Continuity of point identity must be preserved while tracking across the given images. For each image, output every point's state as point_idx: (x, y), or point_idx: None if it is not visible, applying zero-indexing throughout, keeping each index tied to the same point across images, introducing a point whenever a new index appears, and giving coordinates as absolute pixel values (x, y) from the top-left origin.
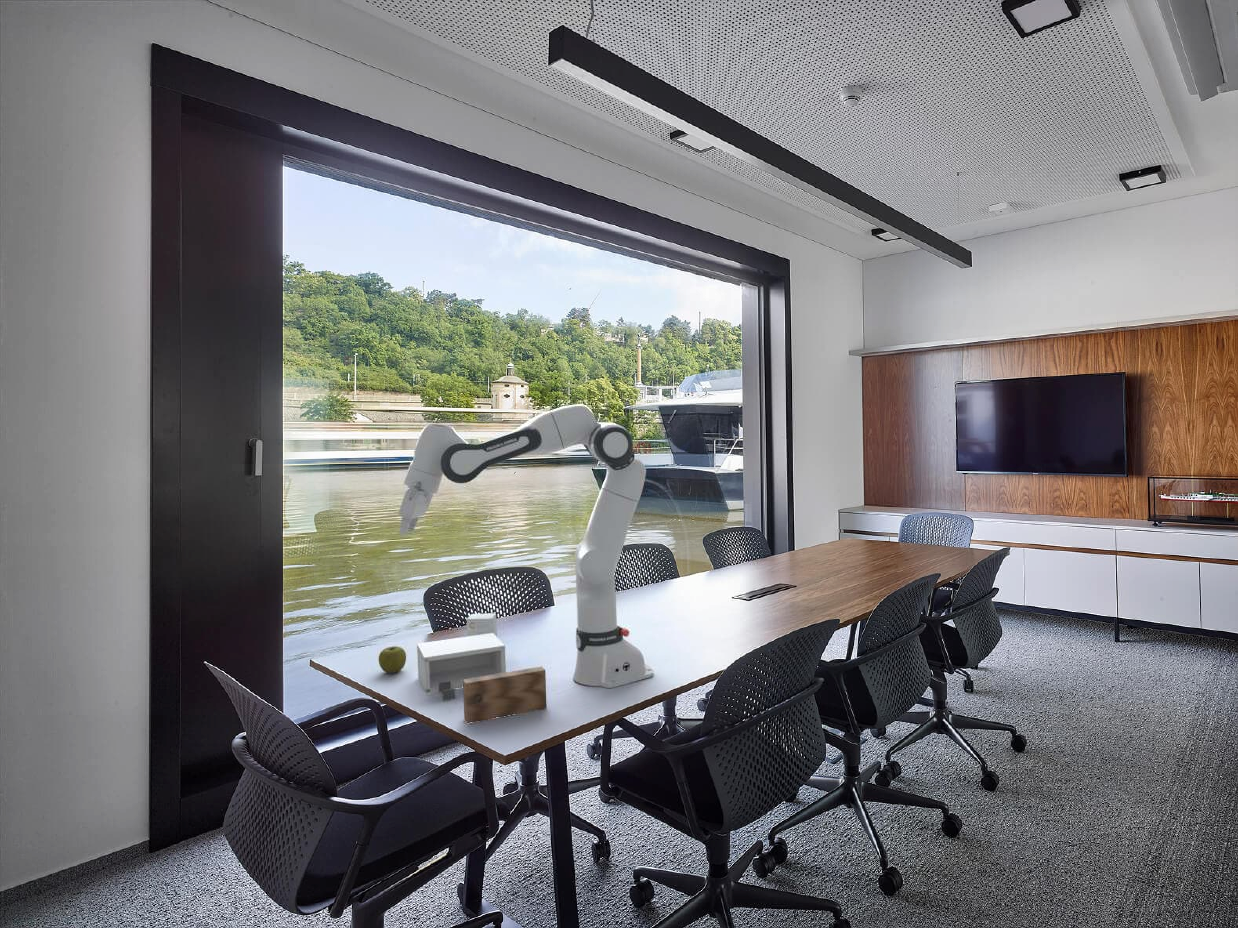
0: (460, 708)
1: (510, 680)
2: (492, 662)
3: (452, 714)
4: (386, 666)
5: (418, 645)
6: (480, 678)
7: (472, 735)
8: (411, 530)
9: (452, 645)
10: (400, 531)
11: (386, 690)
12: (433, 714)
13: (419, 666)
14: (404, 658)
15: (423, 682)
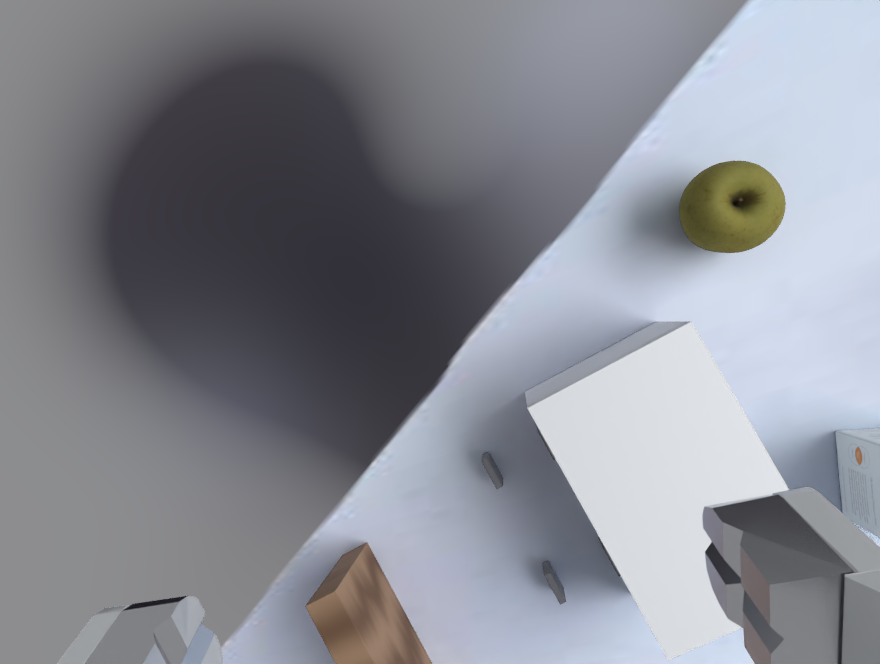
0: (432, 514)
1: None
2: None
3: (395, 505)
4: (679, 209)
5: (667, 336)
6: (344, 640)
7: (285, 582)
8: (717, 588)
9: (668, 465)
10: (87, 642)
11: (553, 266)
12: (393, 457)
13: (634, 340)
14: (727, 252)
15: (559, 376)
